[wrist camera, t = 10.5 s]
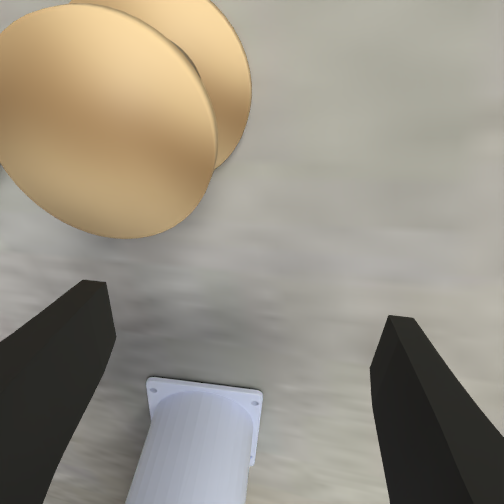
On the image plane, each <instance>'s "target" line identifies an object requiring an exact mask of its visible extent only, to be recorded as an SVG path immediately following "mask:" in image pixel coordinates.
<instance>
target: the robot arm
mask: <svg viewBox="0 0 504 504" xmlns="http://www.w3.org/2000/svg"><path fill="white" fill-rule="evenodd" d="M115 340H116V332H115V327H114V322H113V317H112V311H111V306H110V301H109V295H108V290H107V285H106V282H99V281H90V280H82V281H81V282H79V283H78V284H77V285H75V286H74V287H73V288H71V289H70V290H69V291H67V292H66V293H65V294H64V295H62V296H61V297H60V298H58V299H57V300H56V301H55V302H53V303H52V304H51V305H49V306H48V307H47V308H45V309H44V310H43V311H42V312H40V313H39V314H38V315H36V316H35V317H34V318H32V319H31V320H30V321H28V322H27V323H26V324H24V325H23V326H22V327H20V328H19V329H18V330H16V331H15V332H14V333H12V334H11V335H10V336H8V337H7V338H5V339H4V340H3V341H1V342H0V504H43V501H44V499H45V496H46V494H47V491H48V488H49V486H50V483H51V481H52V478H53V476H54V473H55V471H56V469H57V466H58V464H59V462H60V460H61V458H62V456H63V453H64V451H65V449H66V447H67V445H68V443H69V441H70V439H71V438H72V436H73V434H74V432H75V430H76V428H77V426H78V424H79V422H80V420H81V418H82V416H83V414H84V412H85V410H86V408H87V406H88V404H89V402H90V400H91V398H92V396H93V394H94V392H95V390H96V388H97V386H98V384H99V382H100V380H101V378H102V376H103V374H104V371H105V368H106V366H107V363H108V360H109V358H110V355H111V352H112V349H113V346H114V343H115ZM370 380H371V396H372V408H373V413H374V419H375V424H376V430H377V435H378V441H379V446H380V451H381V457H382V462H383V467H384V472H385V478H386V483H387V488H388V493H389V499H390V504H504V437H503V436H502V435H501V434H500V432H499V431H498V430H497V429H496V428H495V426H494V425H493V424H492V423H491V422H490V420H489V419H488V418H487V417H486V416H485V414H484V413H483V412H482V411H481V409H480V408H479V407H478V406H477V404H476V403H475V402H474V401H473V399H472V398H471V397H470V395H469V394H468V393H467V391H466V390H465V389H464V387H463V386H462V385H461V384H460V382H459V381H458V380H457V378H456V377H455V376H454V374H453V373H452V372H451V370H450V369H449V367H448V366H447V365H446V363H445V362H444V360H443V359H442V358H441V356H440V355H439V353H438V352H437V351H436V349H435V348H434V346H433V345H432V343H431V342H430V341H429V339H428V338H427V336H426V335H425V333H424V332H423V330H422V329H421V328H420V326H419V325H418V323H417V322H416V321H415V319H414V318H410V317H401V316H393V315H388V318H387V321H386V324H385V327H384V330H383V332H382V335H381V338H380V341H379V344H378V347H377V349H376V352H375V355H374V358H373V361H372V363H371V366H370ZM146 389H147V396H148V403H149V410H150V417H151V425H150V428H149V431H148V434H147V437H146V440H145V444H144V447H143V450H142V453H141V456H140V459H139V462H138V465H137V468H136V471H135V474H134V477H133V480H132V483H131V487H130V490H129V493H128V496H127V499H126V502H125V504H245V502H246V492H247V483H248V474H249V466H253V465H254V464H255V456H256V448H257V440H258V433H259V425H260V417H261V409H262V401H263V393H262V392H261V391H259V390H254V389H246V388H238V387H230V386H222V385H214V384H206V383H198V382H190V381H182V380H174V379H166V378H159V377H150V378H148V379H147V382H146Z"/></svg>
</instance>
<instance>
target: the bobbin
mask: <svg viewBox="0 0 504 504" xmlns="http://www.w3.org/2000/svg"><path fill="white" fill-rule="evenodd" d="M251 98H252V83H251V75H250V68H249V65H248V61H247V57H246V54H245V51H244V49H243V46H242V44H241V41H240V39H239V37H238V36H237V34H236V32H235V30H234V28H233V27H232V25H231V24H230V22H229V21H228V20H227V18H226V17H225V15H224V14H223V13H222V12H221V11H220V10H219V9H218V8H217V7H216V5H215V4H214V3H212V2H211V1H210V0H71V2H70V3H69V4H65V5H59V6H54V7H49V8H45V9H41V10H38V11H35V12H32V13H29V14H27V15H25V16H23V17H21V18H20V19H18V20H16V21H14V22H13V23H12V24H11V25H9V26H8V27H7V28H6V29H5V30H4V31H2V33H1V34H0V163H1V164H2V166H3V168H4V169H5V171H6V172H7V173H8V175H9V176H10V177H11V178H12V180H13V181H14V182H15V184H16V185H17V186H18V187H19V188H20V189H21V190H22V191H23V192H24V193H25V194H26V195H27V196H28V197H29V198H30V199H31V200H32V201H34V202H35V203H36V204H37V205H38V206H40V207H41V208H42V209H44V210H45V211H46V212H48V213H49V214H51V215H52V216H54V217H56V218H57V219H59V220H61V221H62V222H64V223H66V224H68V225H70V226H72V227H75V228H77V229H80V230H82V231H85V232H88V233H91V234H95V235H99V236H104V237H110V238H120V239H133V238H142V237H148V236H152V235H155V234H159V233H162V232H164V231H166V230H168V229H170V228H172V227H174V226H175V225H177V224H178V223H180V222H181V221H183V220H184V219H185V218H186V217H187V216H188V215H189V214H190V213H192V211H193V210H194V209H195V208H196V206H197V205H198V204H199V202H200V201H201V199H202V197H203V195H204V194H205V192H206V189H207V187H208V184H209V182H210V179H211V177H212V174H213V172H214V169H216V168H217V167H219V166H220V165H221V164H222V163H223V162H224V161H225V160H226V159H227V158H228V157H229V155H230V154H231V153H232V152H233V150H234V149H235V147H236V146H237V144H238V142H239V140H240V138H241V136H242V134H243V131H244V129H245V126H246V123H247V120H248V116H249V112H250V106H251Z"/></svg>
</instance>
